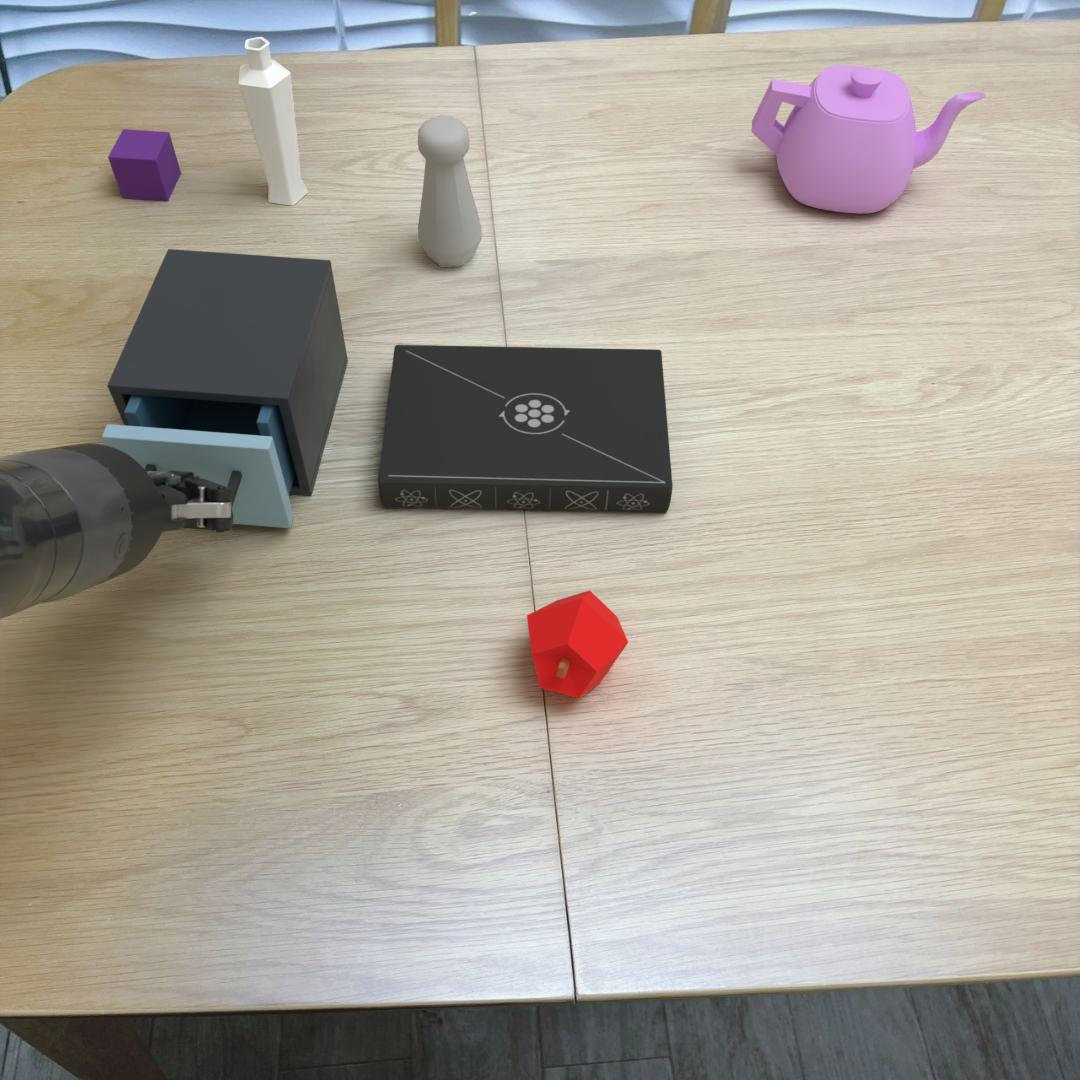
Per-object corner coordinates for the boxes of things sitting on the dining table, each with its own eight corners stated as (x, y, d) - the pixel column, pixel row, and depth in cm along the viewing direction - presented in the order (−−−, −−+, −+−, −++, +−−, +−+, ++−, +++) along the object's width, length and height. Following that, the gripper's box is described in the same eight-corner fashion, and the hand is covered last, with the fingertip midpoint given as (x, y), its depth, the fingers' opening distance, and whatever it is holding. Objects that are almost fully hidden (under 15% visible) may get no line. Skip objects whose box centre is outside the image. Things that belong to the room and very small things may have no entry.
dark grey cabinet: (311, 496, 83) (288, 398, 74) (148, 483, 83) (106, 385, 75) (348, 361, 92) (330, 259, 83) (200, 350, 92) (167, 248, 84)
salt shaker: (495, 248, 101) (492, 121, 90) (457, 282, 98) (450, 155, 87) (444, 225, 102) (436, 97, 92) (406, 257, 100) (393, 130, 89)
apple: (556, 550, 74) (523, 616, 67) (648, 591, 73) (624, 662, 67) (525, 623, 78) (491, 693, 71) (613, 663, 77) (586, 737, 71)
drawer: (275, 582, 77) (251, 505, 70) (117, 570, 78) (76, 491, 70) (327, 395, 88) (311, 312, 81) (188, 385, 88) (159, 301, 81)
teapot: (950, 236, 103) (992, 130, 94) (737, 208, 105) (758, 102, 96) (946, 153, 110) (983, 48, 102) (748, 129, 112) (768, 24, 103)
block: (121, 198, 104) (107, 156, 101) (136, 169, 107) (122, 128, 103) (168, 201, 104) (155, 160, 100) (181, 173, 107) (169, 131, 103)
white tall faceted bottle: (252, 192, 105) (217, 42, 93) (290, 174, 107) (261, 24, 95) (279, 215, 103) (247, 64, 91) (317, 196, 105) (291, 46, 93)
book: (380, 511, 82) (376, 485, 80) (397, 370, 91) (394, 344, 89) (668, 516, 82) (673, 490, 80) (657, 375, 91) (661, 349, 89)
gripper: (185, 457, 55) (282, 437, 72) (-70, 439, 56) (86, 424, 73) (183, 602, 56) (279, 549, 73) (-67, 584, 57) (86, 535, 74)
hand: (183, 487), depth 73 cm, fingers closed
